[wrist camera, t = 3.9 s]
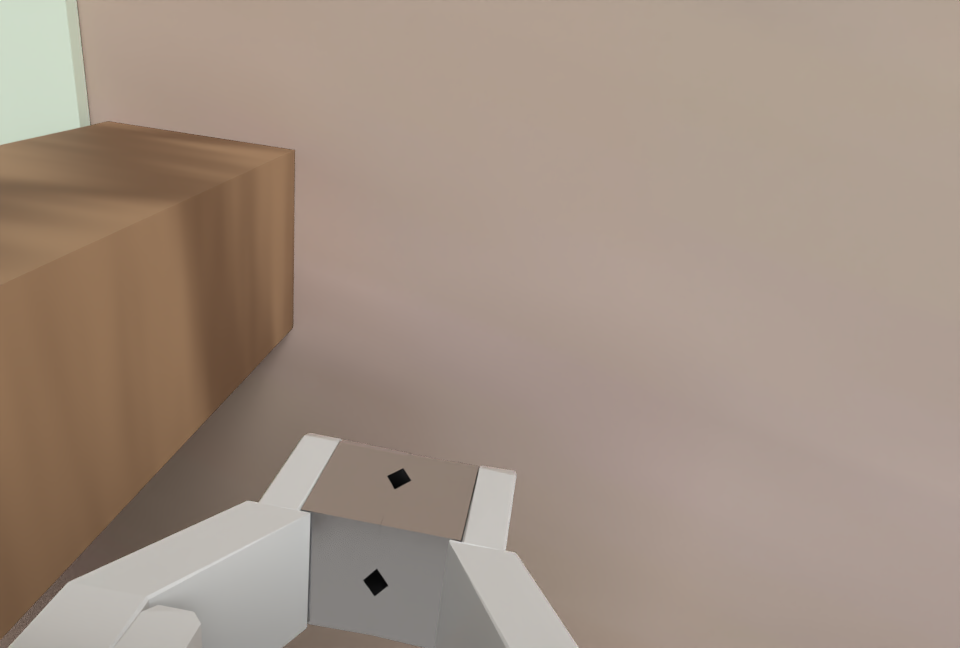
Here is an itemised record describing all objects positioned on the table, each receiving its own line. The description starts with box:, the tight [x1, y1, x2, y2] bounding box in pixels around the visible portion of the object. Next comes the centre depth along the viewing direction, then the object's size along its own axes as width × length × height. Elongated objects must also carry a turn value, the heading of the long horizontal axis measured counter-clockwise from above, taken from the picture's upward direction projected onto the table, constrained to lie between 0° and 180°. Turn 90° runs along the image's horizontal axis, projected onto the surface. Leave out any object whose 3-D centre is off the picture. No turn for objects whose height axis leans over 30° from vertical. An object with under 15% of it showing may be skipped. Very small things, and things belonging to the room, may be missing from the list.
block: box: [0, 121, 295, 640], centre depth 14 cm, size 5×5×11 cm
